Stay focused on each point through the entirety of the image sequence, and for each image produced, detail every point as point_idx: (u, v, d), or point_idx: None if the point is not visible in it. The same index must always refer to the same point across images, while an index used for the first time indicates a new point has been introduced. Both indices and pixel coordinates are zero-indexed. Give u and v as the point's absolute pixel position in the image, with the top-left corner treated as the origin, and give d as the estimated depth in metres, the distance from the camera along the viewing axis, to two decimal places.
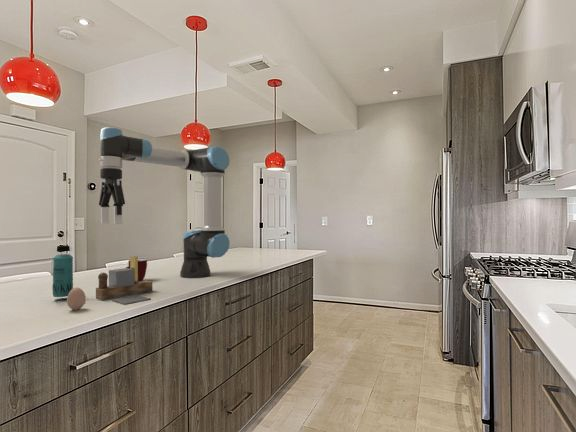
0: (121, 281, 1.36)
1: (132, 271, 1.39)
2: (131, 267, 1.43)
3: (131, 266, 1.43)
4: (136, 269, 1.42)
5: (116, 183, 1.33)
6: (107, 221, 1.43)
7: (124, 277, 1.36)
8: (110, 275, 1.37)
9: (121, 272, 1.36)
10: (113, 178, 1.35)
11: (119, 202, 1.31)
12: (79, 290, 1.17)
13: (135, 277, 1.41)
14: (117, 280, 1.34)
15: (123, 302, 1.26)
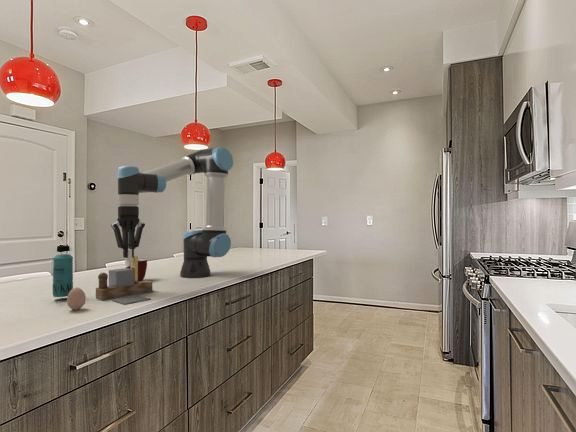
0: (121, 281, 1.36)
1: (132, 271, 1.39)
2: (131, 267, 1.43)
3: (131, 266, 1.43)
4: (136, 269, 1.42)
5: (113, 228, 1.37)
6: None
7: (124, 277, 1.36)
8: (110, 275, 1.37)
9: (121, 272, 1.36)
10: (118, 216, 1.38)
11: (118, 246, 1.39)
12: (79, 290, 1.17)
13: (135, 277, 1.41)
14: (117, 280, 1.34)
15: (123, 302, 1.26)
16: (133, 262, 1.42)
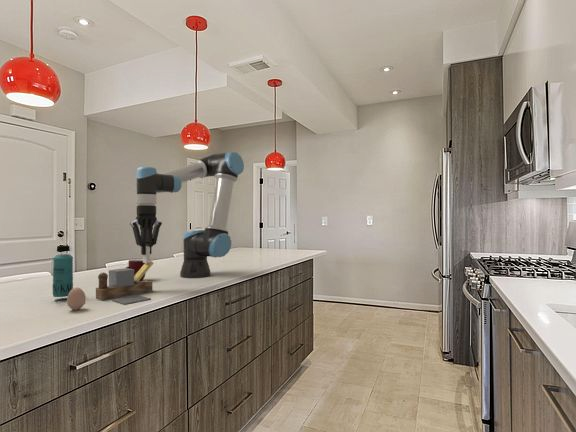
0: (121, 281, 1.36)
1: (132, 271, 1.39)
2: (141, 269, 1.46)
3: (142, 268, 1.46)
4: (144, 272, 1.44)
5: (132, 226, 1.43)
6: None
7: (124, 277, 1.36)
8: (110, 275, 1.37)
9: (121, 272, 1.36)
10: (137, 215, 1.44)
11: (137, 243, 1.44)
12: (79, 290, 1.17)
13: (139, 277, 1.42)
14: (117, 280, 1.34)
15: (123, 302, 1.26)
16: (146, 265, 1.46)
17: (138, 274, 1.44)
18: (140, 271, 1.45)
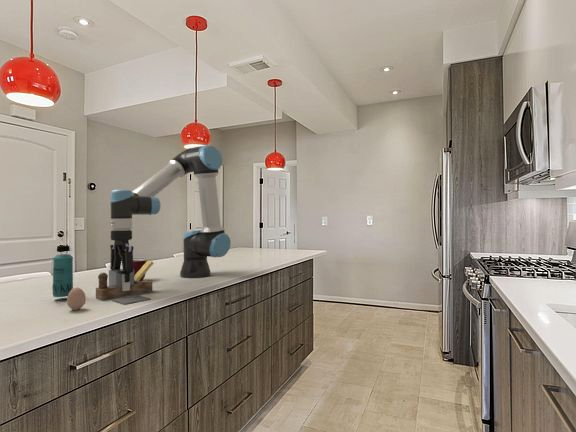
0: (121, 281, 1.36)
1: None
2: (141, 269, 1.46)
3: (142, 268, 1.46)
4: (144, 272, 1.44)
5: (128, 250, 1.34)
6: None
7: None
8: (110, 275, 1.37)
9: (121, 272, 1.36)
10: (124, 240, 1.36)
11: (128, 271, 1.34)
12: (79, 290, 1.17)
13: (139, 277, 1.42)
14: (117, 280, 1.34)
15: (123, 302, 1.26)
16: (146, 265, 1.46)
17: (138, 274, 1.44)
18: (140, 271, 1.45)
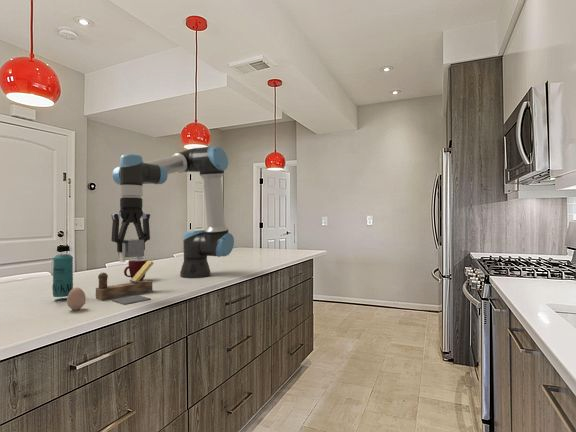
0: None
1: (127, 242, 1.27)
2: (141, 269, 1.46)
3: (142, 268, 1.46)
4: (144, 272, 1.44)
5: (112, 218, 1.26)
6: (140, 257, 1.33)
7: None
8: None
9: None
10: (120, 208, 1.28)
11: (112, 239, 1.26)
12: (79, 290, 1.17)
13: (139, 277, 1.42)
14: None
15: (123, 302, 1.26)
16: (146, 265, 1.46)
17: (138, 274, 1.44)
18: (140, 271, 1.45)
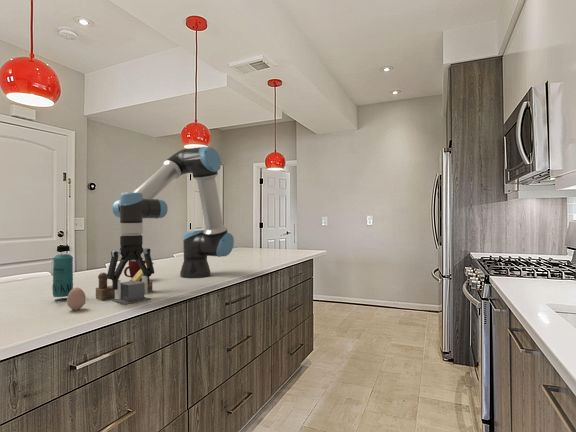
0: (121, 294, 1.30)
1: (127, 286, 1.27)
2: None
3: None
4: None
5: (112, 255, 1.26)
6: (144, 292, 1.34)
7: (122, 291, 1.29)
8: None
9: (121, 285, 1.30)
10: None
11: (107, 277, 1.25)
12: (79, 290, 1.17)
13: (139, 277, 1.42)
14: None
15: (123, 302, 1.26)
16: (146, 265, 1.46)
17: (138, 274, 1.44)
18: (140, 271, 1.45)
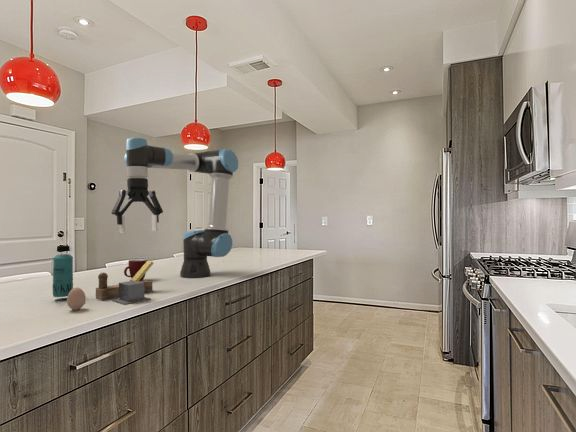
0: (121, 294, 1.30)
1: (127, 286, 1.27)
2: (141, 269, 1.46)
3: (142, 268, 1.46)
4: (144, 272, 1.44)
5: (120, 193, 1.36)
6: (154, 229, 1.46)
7: (122, 291, 1.29)
8: None
9: (121, 285, 1.30)
10: (128, 188, 1.38)
11: (112, 212, 1.33)
12: (79, 290, 1.17)
13: (139, 277, 1.42)
14: (119, 292, 1.31)
15: (123, 302, 1.26)
16: (146, 265, 1.46)
17: (138, 274, 1.44)
18: (140, 271, 1.45)
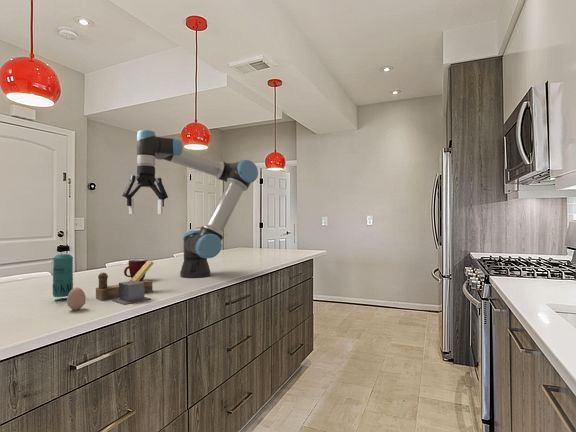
0: (121, 294, 1.30)
1: (127, 286, 1.27)
2: (141, 269, 1.46)
3: (142, 268, 1.46)
4: (144, 272, 1.44)
5: (130, 178, 1.53)
6: (160, 212, 1.63)
7: (122, 291, 1.29)
8: None
9: (121, 285, 1.30)
10: (137, 174, 1.56)
11: (123, 195, 1.51)
12: (79, 290, 1.17)
13: (139, 277, 1.42)
14: (119, 292, 1.31)
15: (123, 302, 1.26)
16: (146, 265, 1.46)
17: (138, 274, 1.44)
18: (140, 271, 1.45)
